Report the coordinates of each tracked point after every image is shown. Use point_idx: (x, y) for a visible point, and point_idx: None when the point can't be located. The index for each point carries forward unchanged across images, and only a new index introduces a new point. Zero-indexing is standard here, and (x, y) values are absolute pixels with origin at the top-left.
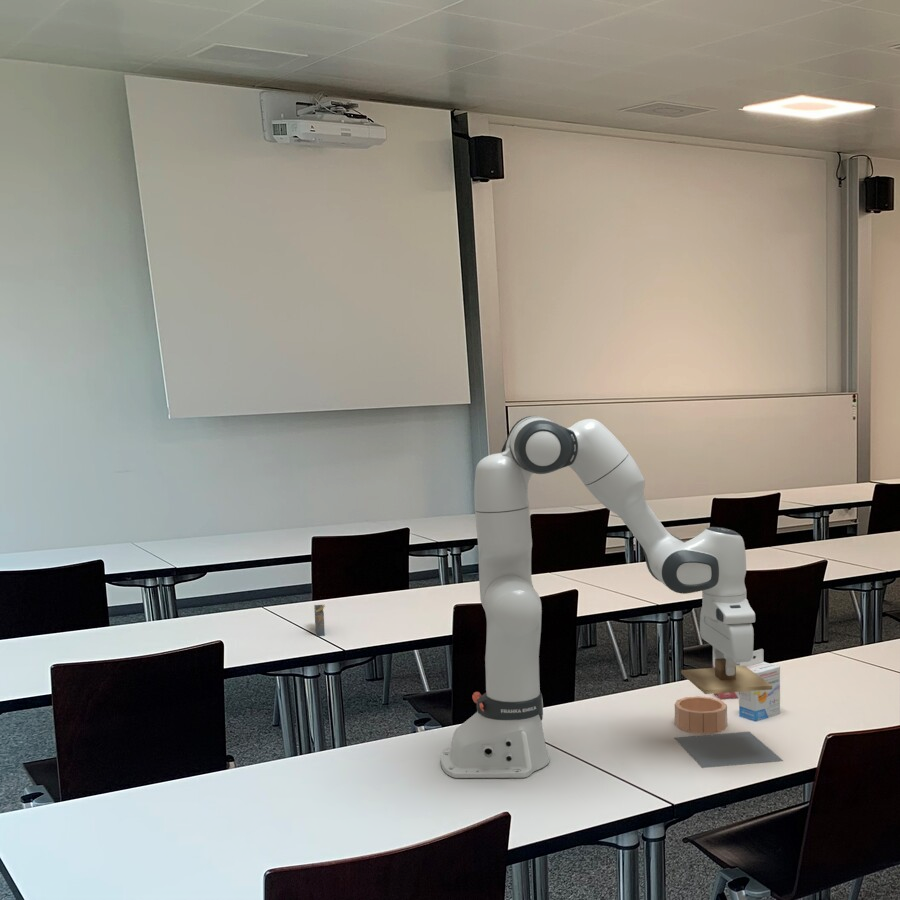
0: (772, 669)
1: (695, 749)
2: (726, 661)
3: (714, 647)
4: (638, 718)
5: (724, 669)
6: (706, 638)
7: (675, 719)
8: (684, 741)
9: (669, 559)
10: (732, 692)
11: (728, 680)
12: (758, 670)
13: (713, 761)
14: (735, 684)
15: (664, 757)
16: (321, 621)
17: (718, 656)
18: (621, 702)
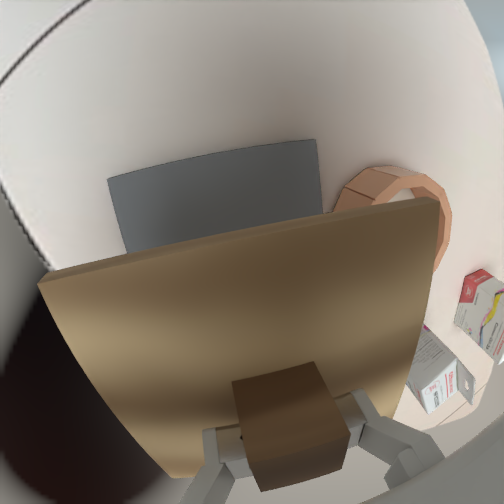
0: (424, 407)
1: (228, 178)
2: (196, 499)
3: (414, 467)
4: (432, 104)
5: (233, 442)
6: (500, 442)
7: (397, 168)
8: (286, 160)
9: None
10: (467, 299)
11: (229, 405)
12: (429, 392)
13: (146, 211)
14: (165, 419)
15: (193, 93)
16: None
17: (377, 440)
18: (486, 109)
